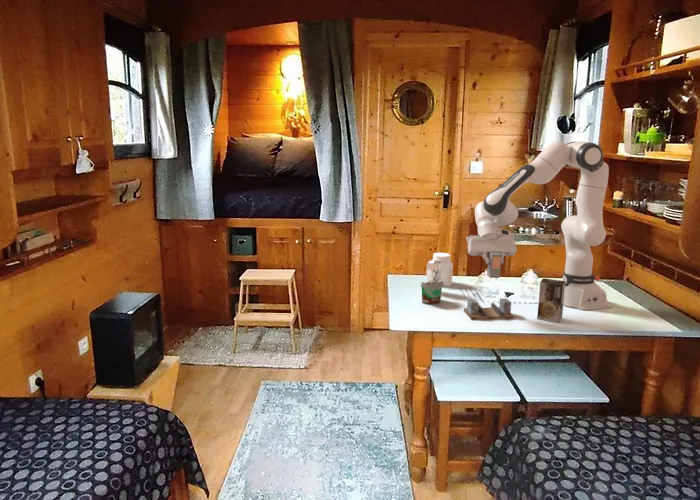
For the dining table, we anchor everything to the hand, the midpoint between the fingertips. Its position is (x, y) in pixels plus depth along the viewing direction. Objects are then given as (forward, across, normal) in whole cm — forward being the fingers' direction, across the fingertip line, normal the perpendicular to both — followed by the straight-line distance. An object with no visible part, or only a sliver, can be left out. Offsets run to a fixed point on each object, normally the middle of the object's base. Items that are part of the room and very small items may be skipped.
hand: (495, 263), depth 226 cm
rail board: (+16, -1, +15) cm, 22 cm away
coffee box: (+20, +23, +10) cm, 32 cm away
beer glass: (-6, -18, +38) cm, 42 cm away
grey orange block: (+4, 0, +5) cm, 6 cm away
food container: (+5, -20, +27) cm, 34 cm away
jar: (-16, -11, +48) cm, 51 cm away
